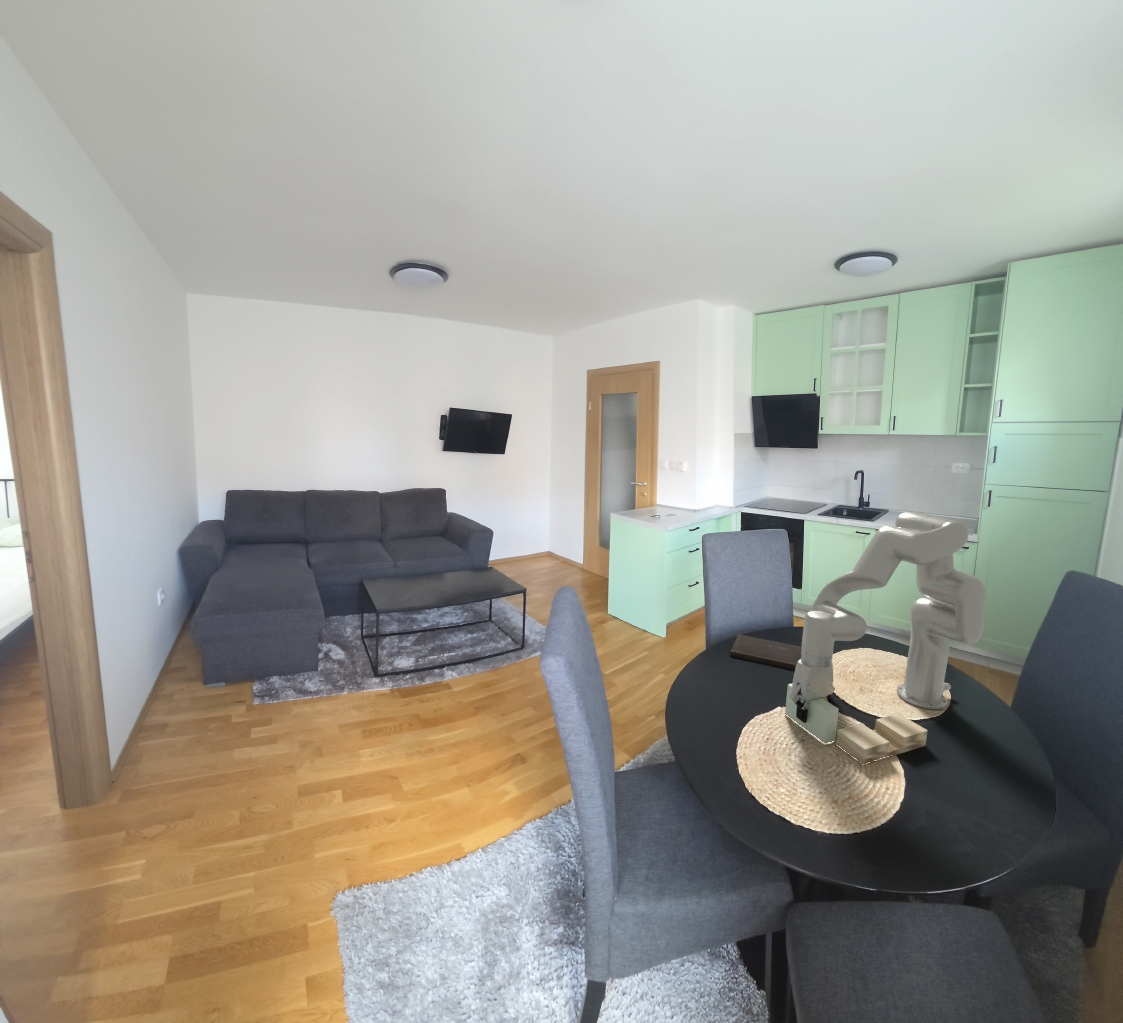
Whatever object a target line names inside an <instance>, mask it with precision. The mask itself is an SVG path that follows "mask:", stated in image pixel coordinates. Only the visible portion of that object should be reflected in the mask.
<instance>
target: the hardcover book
mask: <svg viewBox="0 0 1123 1023" xmlns="http://www.w3.org/2000/svg"><path fill="white" fill-rule="evenodd" d="M801 648H802V646H800V645H794V644H789V643H786V642H785V643H783V642H779V641H774V640H768V639H763V638H759V637H754V636H748V635H743V634H738V633H737V635H736V637H735V640H734V642H733V644H732V647H731V650H730V652H729V656H730V657H733V658H738V659H742V660H747V661H752V662H756V663H759V664H765V665H771V666H774V667H778V668H784V669H788V670H793V671H795V668H796V665H797V663H798V660H800V658H801Z"/></svg>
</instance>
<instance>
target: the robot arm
mask: <svg viewBox="0 0 1123 1023" xmlns="http://www.w3.org/2000/svg"><path fill="white" fill-rule="evenodd" d="M894 524H895V526H894V525H893V526H892V525H887V526H886V525H885V526H882V527H880V528H879V529H877V531H875V534H874V535H873V536H872V538H871V539H870V542H868V544H867V546H866V548H865V550H864V551H863V553H862V555H861V556H860V557H859V559H858V561H857V563H856V564H855V566H854V567H853V569H852V570H850V571H848V572H846V573H844V574H841V575H840V576H838V577H836V578H834V579H833V580H831V581H830V582H828V583H827V584H826V585H825V586H824V587H823V588H822V589H821V591H819V594H818V595H817V597H816V598H815V600H814V601H813V603H812V605H811V609H810V611H808V612H806V614H805V615H804V619H803V627H802V628H803V629H802V638H801V640H802V641H801V647H802V648H801V658H800V660H798V663H797V665H796V668H795V670H794V673H793V679H792V683H791V684H792V693H791V695H790V696H789V698H790V699H791V700H792V701H793V702H794V703H795V704H796V705H797V711H796V717H797V718H798V719H799V720H801V721H802V722H803V723H806V722H807V714H808V710H807V709H806V708H807V705H808V702H809V700H811V699H816V698H820V697H821V698H823V699H824V700H826V701H827V702H829V699H830V698H831V696H832V694H833V693H834V692H836V688H835V686H834V666H833V655H834V648H835V647H834V645H835V642H836V641H839V642H840V641H841V642H842V641H843V642H852V641H856V640H857V641H858V640H859V639H861V638H863V637H864V636H865V634H866V632H867V630H868V625H867V622H866V620H865V619H864V617H862V616H861V615H859V614H857V613H856V612H853V611H850V610H848V609H846V608H844V607H842V606H839V605H837V604H839V602H840V600H841V599H842V598H844V596H847V595H848V594H850V593H853V592H856V591H862V590H863V591H864V590H872V589H873V590H874V589H875V590H876V589H882V588H884V587H886V586H887V584H888V583H889V582H890V581H889V580H890V579H891V578H892V576H893V574H894V573H895V571H896V569H897V568H898V566H899V565H900V563H901V562H906V563H910V564H913V565H916V578H915V579H916V580H915V581H916V588H917V590H918V592H919V593H920V594H921V595H923V596H926V597H920V598H918V599H916V600H915V601H913V603H912V605H911V606H910V610H909V619H910V638H909V639H910V640H909V646H908V651H907V652H908V654H907V660H906V668H905V675H904V681H903V684H899V685H898V686H897V687H896V693H897V696H899V697H900V698H901V699H902V700H903V701H906V702H907V703H909V704H912V705H914V706H915V707H919V708H923V709H928V710H943V709H945V708H946V707H947V706H948V700H947V698H946V696H945V695H944V692H945V691H947V690H951V688H952V685H951V684H950V683H948V682H945V679H946V671H947V665H948V658H949V654H950V646H949V642H948V640H950V641H953V642H956V643H958V644H962V645H968V646H971V645H974V644H976V643H977V642H978V641H980V640H981V638H982V636H983V633H984V629H985V619H986V618H985V617H986V616H985V615H986V587H985V585H984V583H983V582H982V581H981V579H979V578H978V577H976V576H975V575H972V574H969V573H965V572H963V571H962V572H961V571H958V570H956V569H955V566H954V553H957V552H958V551H960V550H961V549H962V548H963V547H964V546H965V545H966V544H967V541H968V540H969V530H968V528H967V526H966V525H965V524H964V523H963V522H961V521H959V520H955V519H951V518H945V517H939V516H934V515H931V514H924V513H919V512H914V511H908V512H903V513H900V514H899V515H898V516H897V517H896V519H895V523H894ZM802 699H803V700H804V702H803V703H802V702H801V700H802Z"/></svg>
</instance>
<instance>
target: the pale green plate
mask: <svg viewBox="0 0 1123 1023" xmlns="http://www.w3.org/2000/svg"><path fill="white" fill-rule="evenodd" d="M791 693H792V683H789V684H787V691H786V699H785V701H786V702H785V713H784V715H785V714H786V715H788V716H789V717H790V718H792V719H793V720H794V721H796V722H797V723H798V724H799V725H801V726H802V727H804V728H805V729H806V730H808V731H809V732H810V733H812V734H813V735H815V736H816V737H817V738H819V739H820V740H821V741H822V742H824V743H828V742H832V741H834V740H835V741H836V737H837V727H838V717H839V712H840V711H839V708H838V707H836V706H835V705H833V703H830V702H829V701H828V700H827V701H828V702H827V701H826V700H824V699H823V698H821V697H820V698H816V699H811V700H809V702H808V705H807V708H806V709H807V710H808V714H807V722H806V723H803V722H802V721H801V720H799V719H798V718H797V717H796V711H797V705H796V704H795V703H794V702H793V701H792V700H791V699H790V698H789V696H790V695H791ZM801 702H802V703H803V702H804V700H803V699H802V700H801Z"/></svg>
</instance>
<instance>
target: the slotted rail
mask: <svg viewBox="0 0 1123 1023" xmlns="http://www.w3.org/2000/svg"><path fill="white" fill-rule="evenodd" d="M927 735H928V729H926V728H925V727H923V726H921V725H919V724H918V723H915V722H914V721H912V720H911V719H910V718H907V717H905V716H904V715H902V714H901V713H898V712H897V713H895V714H890V715H888V716H883V717H881V718H877V719H875V723H874V729H871V728H869V727H868V726H866V725H865V724H863V723H859V724H855V725H852V726H848V727H844V728H841V729H840V728H839V729H837V730H836V738H835V745H836V744H837V745H838V746H840V747H841V748H842V749H843V750H845V751H846V752H847V753H849V754H850V755H851V756H853V757H854V758H856V759H857V760H858V761H859V762H861V763H862V764H866V763H868V762H872V761H874V760H878V759H880V758H883V757H887V756H891V755H894V756H896V755H897V756H898V755H900V754H903V753H906V752H909V751H910V752H911V751H912V750H917V749H920V748H923V747H926V744H927V737H928V736H927ZM843 750H842V751H843ZM847 753H846V754H847ZM851 756H850V757H851ZM891 757H892V756H891ZM878 761H879V760H878ZM859 762H858V763H859ZM872 763H873V762H872ZM862 764H861V765H862ZM866 765H867V764H866Z"/></svg>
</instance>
